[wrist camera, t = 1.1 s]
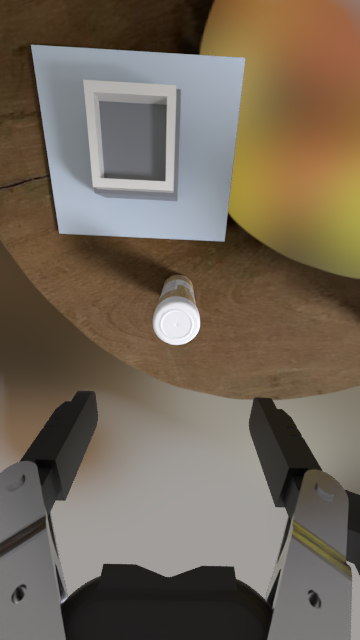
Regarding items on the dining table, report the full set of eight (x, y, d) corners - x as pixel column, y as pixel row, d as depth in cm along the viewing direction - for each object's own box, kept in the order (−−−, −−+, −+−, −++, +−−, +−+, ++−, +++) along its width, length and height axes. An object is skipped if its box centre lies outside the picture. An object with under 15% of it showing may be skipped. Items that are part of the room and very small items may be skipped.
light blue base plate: (243, 63, 24) (263, 10, 18) (223, 241, 31) (233, 244, 25) (35, 50, 24) (-12, -8, 18) (62, 233, 30) (34, 234, 25)
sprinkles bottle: (198, 293, 34) (209, 332, 21) (173, 308, 35) (169, 354, 22) (182, 267, 32) (184, 292, 20) (156, 284, 33) (142, 318, 21)
